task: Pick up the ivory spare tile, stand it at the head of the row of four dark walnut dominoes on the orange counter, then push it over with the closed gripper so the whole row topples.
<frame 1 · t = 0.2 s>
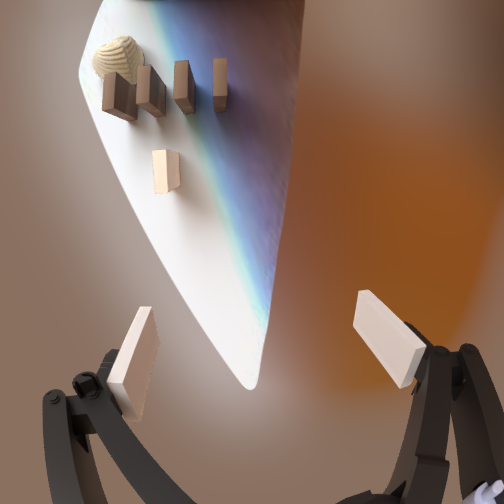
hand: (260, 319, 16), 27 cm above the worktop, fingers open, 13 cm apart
domino 2: (189, 98, 35), on the worktop
seashell: (121, 64, 31), on the worktop
domino 4: (132, 105, 34), on the worktop
domino 3: (160, 101, 34), on the worktop
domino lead: (174, 169, 38), on the worktop
domino 1: (219, 96, 35), on the worktop
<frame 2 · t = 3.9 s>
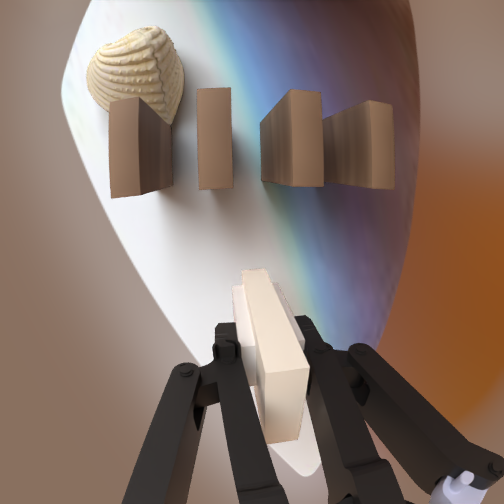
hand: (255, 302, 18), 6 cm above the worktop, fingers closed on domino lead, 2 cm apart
domino 2: (270, 151, 22), on the worktop
seashell: (140, 82, 19), on the worktop
domino 4: (162, 157, 21), on the worktop
domino 3: (216, 152, 21), on the worktop
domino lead: (254, 302, 19), point 6 cm above the worktop, touching gripper
domino 1: (320, 152, 22), on the worktop
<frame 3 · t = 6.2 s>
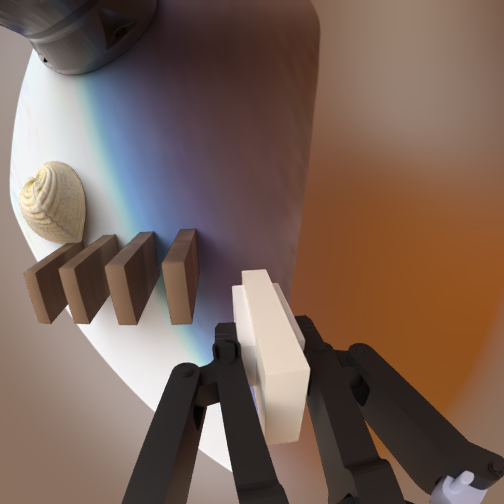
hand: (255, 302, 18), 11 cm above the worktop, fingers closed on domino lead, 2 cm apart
domino 2: (149, 254, 28), on the worktop
seashell: (59, 201, 25), on the worktop
domino 4: (80, 260, 27), on the worktop
domino 3: (112, 256, 28), on the worktop
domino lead: (254, 303, 19), point 11 cm above the worktop, touching gripper
domino 1: (189, 252, 28), on the worktop
when the fingers open (0 cm above the worktop, at t = 8.4 s): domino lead stays where it is, on the worktop.
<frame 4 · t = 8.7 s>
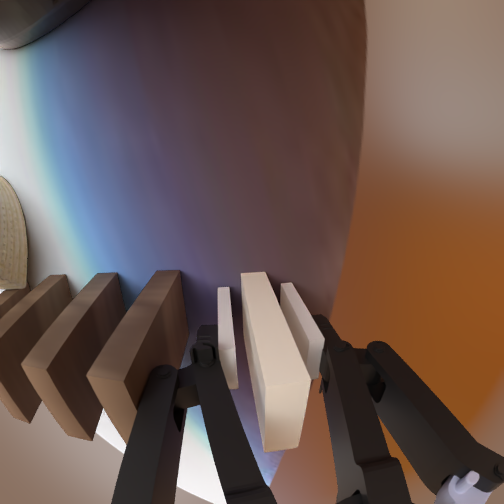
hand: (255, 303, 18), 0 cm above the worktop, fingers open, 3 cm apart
domino 2: (114, 305, 17), on the worktop
domino 4: (29, 308, 17), on the worktop
domino 3: (66, 304, 17), on the worktop
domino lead: (253, 305, 19), on the worktop
domino 1: (173, 304, 18), on the worktop, tilted 5°
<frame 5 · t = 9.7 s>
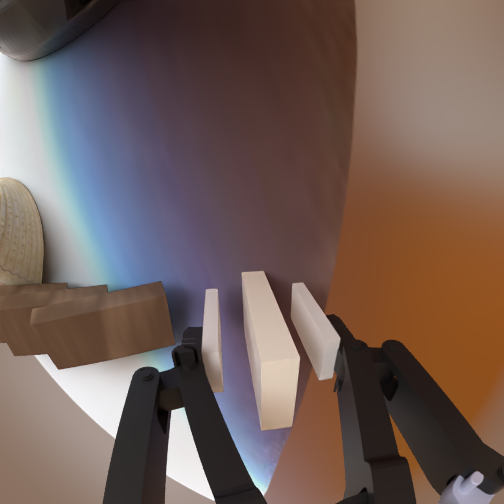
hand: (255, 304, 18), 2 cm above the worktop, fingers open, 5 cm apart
domino 2: (112, 316, 18), point 1 cm above the worktop, tilted 67°, touching domino 3
seashell: (15, 229, 17), on the worktop, touching domino 3
domino 3: (71, 313, 18), point 1 cm above the worktop, tilted 67°, touching domino 2, seashell
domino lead: (253, 302, 21), on the worktop
domino 1: (168, 314, 19), point 1 cm above the worktop, tilted 69°
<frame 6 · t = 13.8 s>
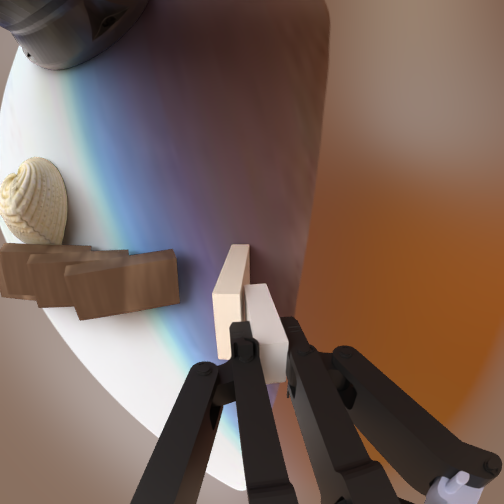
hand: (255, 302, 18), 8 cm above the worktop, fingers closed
domino 2: (129, 277, 24), point 1 cm above the worktop, tilted 69°, touching domino 1, domino 3
seashell: (41, 201, 21), on the worktop
domino 4: (52, 278, 23), point 1 cm above the worktop, tilted 90°
domino 3: (91, 272, 23), point 1 cm above the worktop, tilted 68°, touching domino 2
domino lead: (241, 269, 26), on the worktop, tilted 9°
domino 1: (176, 276, 24), point 1 cm above the worktop, tilted 70°, touching domino 2
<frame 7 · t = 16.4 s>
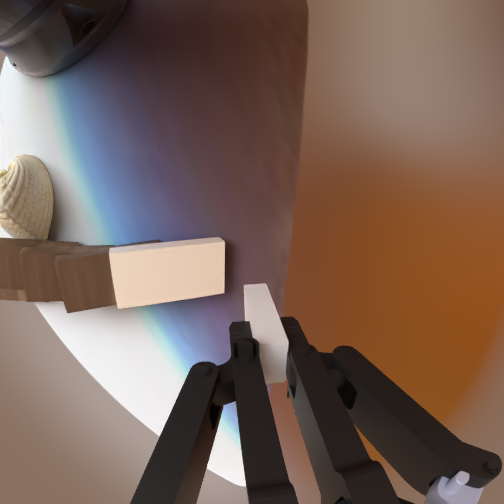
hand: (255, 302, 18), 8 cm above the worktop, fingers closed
domino 2: (115, 272, 24), point 1 cm above the worktop, tilted 65°, touching domino 1, domino 3
seashell: (29, 197, 21), on the worktop, touching domino 3
domino 4: (45, 278, 23), point 1 cm above the worktop, tilted 90°
domino 3: (77, 268, 23), point 1 cm above the worktop, tilted 65°, touching domino 2, seashell
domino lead: (221, 265, 25), point 1 cm above the worktop, tilted 70°, touching domino 1
domino 1: (161, 267, 25), point 1 cm above the worktop, tilted 66°, touching domino 2, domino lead
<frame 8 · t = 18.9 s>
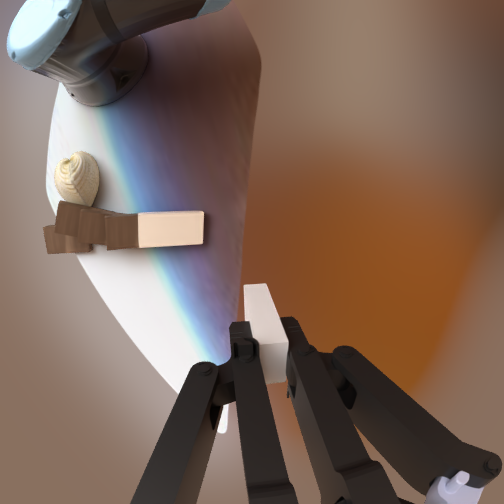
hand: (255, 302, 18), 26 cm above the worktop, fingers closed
domino 2: (137, 231, 41), point 1 cm above the worktop, tilted 66°, touching domino 1
seashell: (81, 178, 38), on the worktop, touching domino 3
domino 4: (89, 236, 40), point 1 cm above the worktop, tilted 90°
domino 3: (111, 227, 40), point 1 cm above the worktop, tilted 66°, touching seashell
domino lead: (201, 227, 42), point 1 cm above the worktop, tilted 70°, touching domino 1
domino 1: (167, 228, 42), point 1 cm above the worktop, tilted 67°, touching domino 2, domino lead
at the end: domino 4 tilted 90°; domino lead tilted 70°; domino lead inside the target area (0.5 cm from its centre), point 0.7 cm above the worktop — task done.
